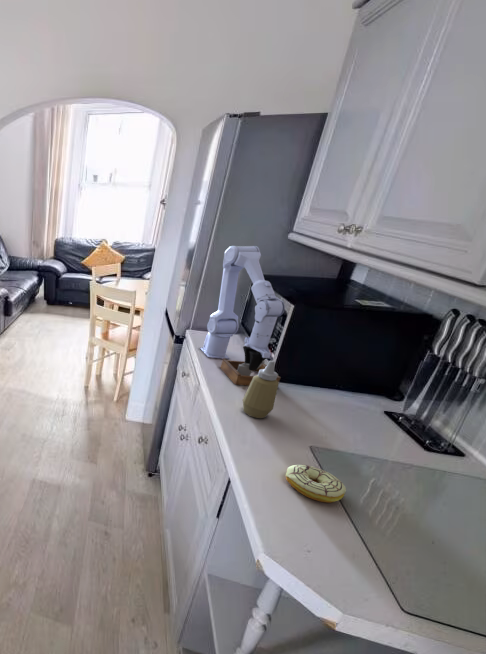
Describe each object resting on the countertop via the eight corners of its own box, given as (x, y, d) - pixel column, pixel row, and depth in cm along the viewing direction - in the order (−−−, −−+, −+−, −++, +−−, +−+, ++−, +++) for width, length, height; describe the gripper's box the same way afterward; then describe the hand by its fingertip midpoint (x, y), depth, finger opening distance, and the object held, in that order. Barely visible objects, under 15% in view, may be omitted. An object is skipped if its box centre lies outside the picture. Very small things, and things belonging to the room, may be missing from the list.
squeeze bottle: (260, 407, 125) (278, 356, 118) (275, 421, 118) (295, 368, 111) (234, 405, 126) (250, 354, 119) (247, 419, 119) (265, 366, 111)
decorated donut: (298, 468, 99) (303, 456, 97) (350, 496, 90) (356, 483, 89) (274, 481, 94) (279, 468, 93) (326, 512, 86) (333, 498, 84)
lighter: (236, 376, 145) (242, 356, 142) (235, 374, 146) (241, 354, 143) (258, 380, 142) (265, 360, 139) (258, 378, 143) (264, 359, 140)
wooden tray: (219, 367, 151) (222, 358, 150) (258, 370, 149) (261, 361, 148) (234, 384, 139) (238, 374, 137) (277, 388, 137) (280, 377, 136)
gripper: (240, 325, 144) (230, 358, 150) (259, 340, 131) (247, 376, 137) (260, 326, 143) (249, 360, 149) (282, 341, 130) (269, 377, 136)
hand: (250, 368), depth 143 cm, fingers closed on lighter, 3 cm apart
